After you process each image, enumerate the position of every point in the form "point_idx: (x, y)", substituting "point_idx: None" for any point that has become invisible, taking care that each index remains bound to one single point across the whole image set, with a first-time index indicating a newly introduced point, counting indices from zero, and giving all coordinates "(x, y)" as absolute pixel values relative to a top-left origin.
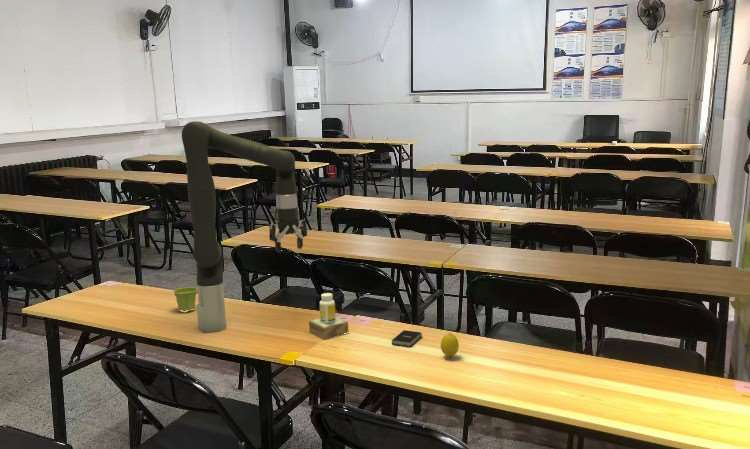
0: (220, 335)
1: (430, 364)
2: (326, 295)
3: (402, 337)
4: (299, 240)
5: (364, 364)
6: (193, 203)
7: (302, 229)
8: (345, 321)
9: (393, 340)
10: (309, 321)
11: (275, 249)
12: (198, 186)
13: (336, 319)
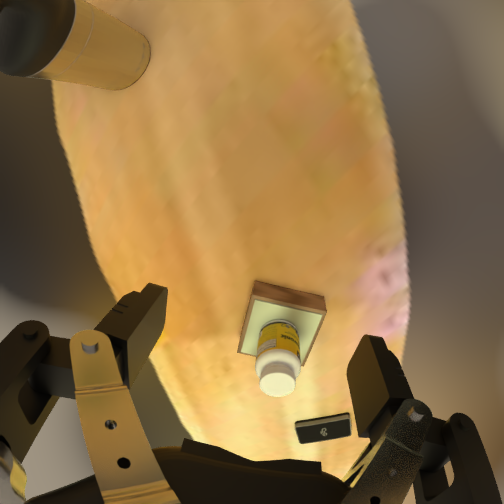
0: (103, 118)
1: None
2: (269, 389)
3: (316, 430)
4: (359, 422)
5: (208, 425)
6: None
7: (437, 498)
8: (301, 363)
9: (297, 428)
10: (253, 295)
11: (125, 295)
12: None
13: (301, 341)
